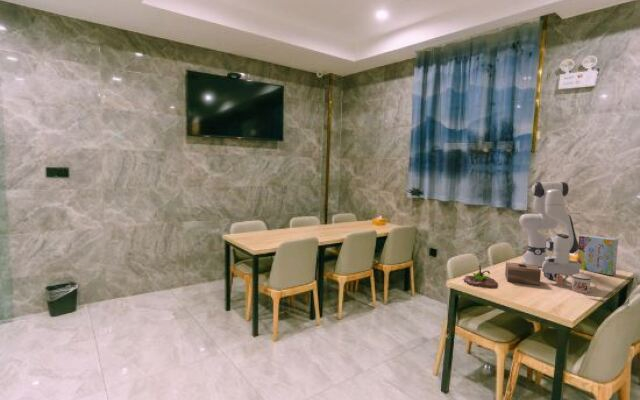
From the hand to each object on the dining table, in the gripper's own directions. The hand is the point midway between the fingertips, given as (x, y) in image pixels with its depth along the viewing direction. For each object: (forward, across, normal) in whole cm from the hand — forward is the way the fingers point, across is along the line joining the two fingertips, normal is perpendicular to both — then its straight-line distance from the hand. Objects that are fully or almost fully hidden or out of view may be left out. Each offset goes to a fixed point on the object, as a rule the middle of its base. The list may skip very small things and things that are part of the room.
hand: (559, 280), depth 229 cm
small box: (+2, +2, -12) cm, 12 cm away
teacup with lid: (+2, -9, +14) cm, 17 cm away
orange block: (+2, 0, 0) cm, 2 cm away
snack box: (+2, -33, -48) cm, 58 cm away
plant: (+2, +48, +22) cm, 53 cm away
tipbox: (+2, +22, +5) cm, 23 cm away
